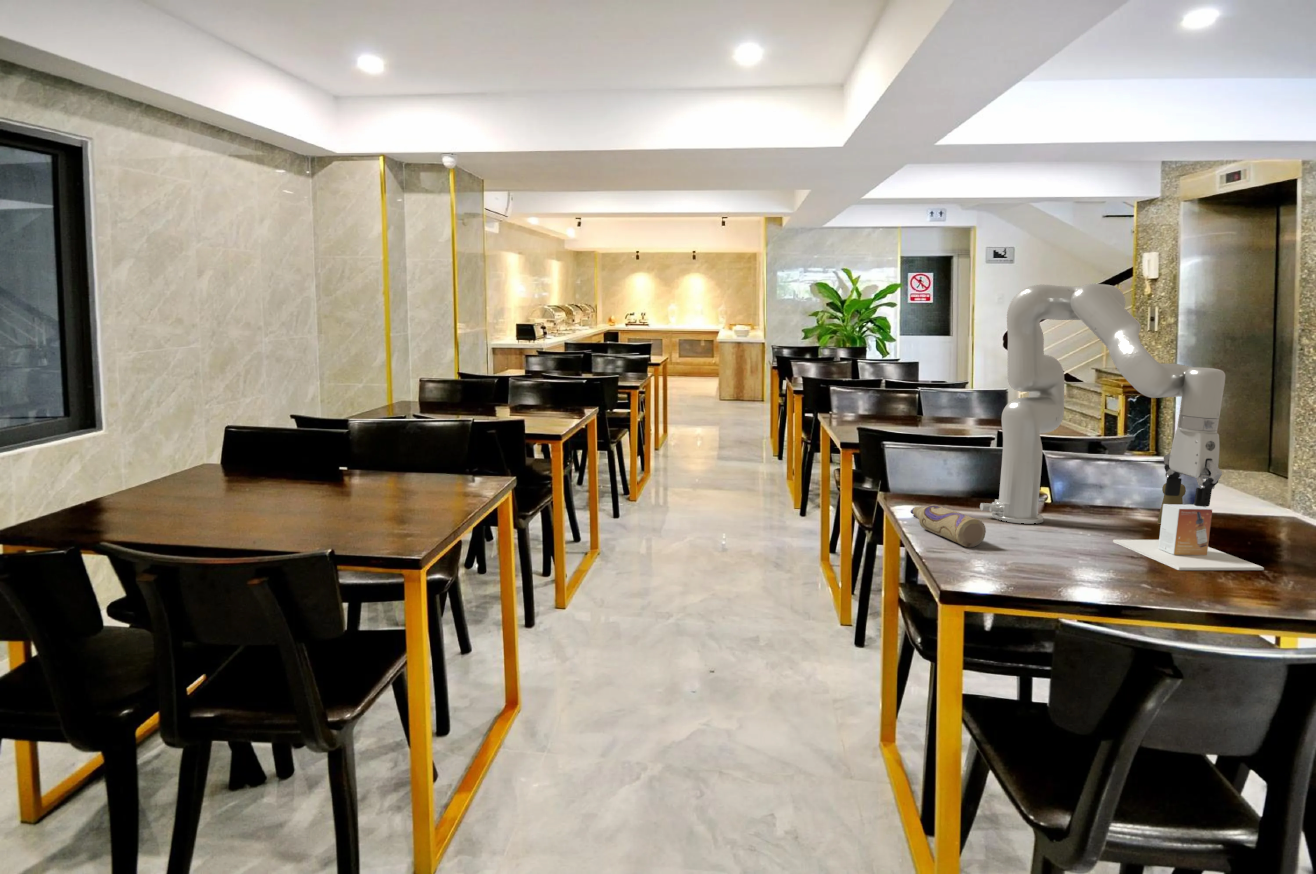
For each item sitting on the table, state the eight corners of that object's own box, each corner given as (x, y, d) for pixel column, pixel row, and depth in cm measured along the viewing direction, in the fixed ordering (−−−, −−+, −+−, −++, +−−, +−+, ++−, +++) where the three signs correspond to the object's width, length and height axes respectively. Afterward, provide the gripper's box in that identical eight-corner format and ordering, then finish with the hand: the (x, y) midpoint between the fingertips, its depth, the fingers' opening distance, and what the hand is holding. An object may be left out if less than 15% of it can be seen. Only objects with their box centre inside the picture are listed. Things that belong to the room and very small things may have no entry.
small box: (1173, 555, 194) (1178, 508, 192) (1157, 548, 199) (1162, 503, 198) (1208, 555, 194) (1213, 509, 193) (1191, 549, 200) (1196, 503, 198)
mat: (1178, 570, 184) (1179, 567, 184) (1113, 542, 207) (1113, 539, 207) (1263, 570, 186) (1263, 567, 186) (1189, 542, 209) (1189, 539, 209)
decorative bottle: (987, 547, 200) (989, 518, 199) (957, 549, 198) (959, 520, 197) (926, 521, 225) (928, 495, 224) (900, 522, 223) (901, 496, 222)
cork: (1180, 523, 229) (1185, 481, 227) (1186, 528, 223) (1191, 486, 221) (1154, 521, 230) (1158, 480, 229) (1159, 526, 225) (1163, 483, 223)
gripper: (1243, 431, 185) (1230, 510, 187) (1187, 419, 202) (1176, 492, 204) (1209, 430, 184) (1197, 510, 187) (1156, 417, 201) (1145, 491, 204)
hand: (1186, 500), depth 196 cm, fingers open, 9 cm apart
